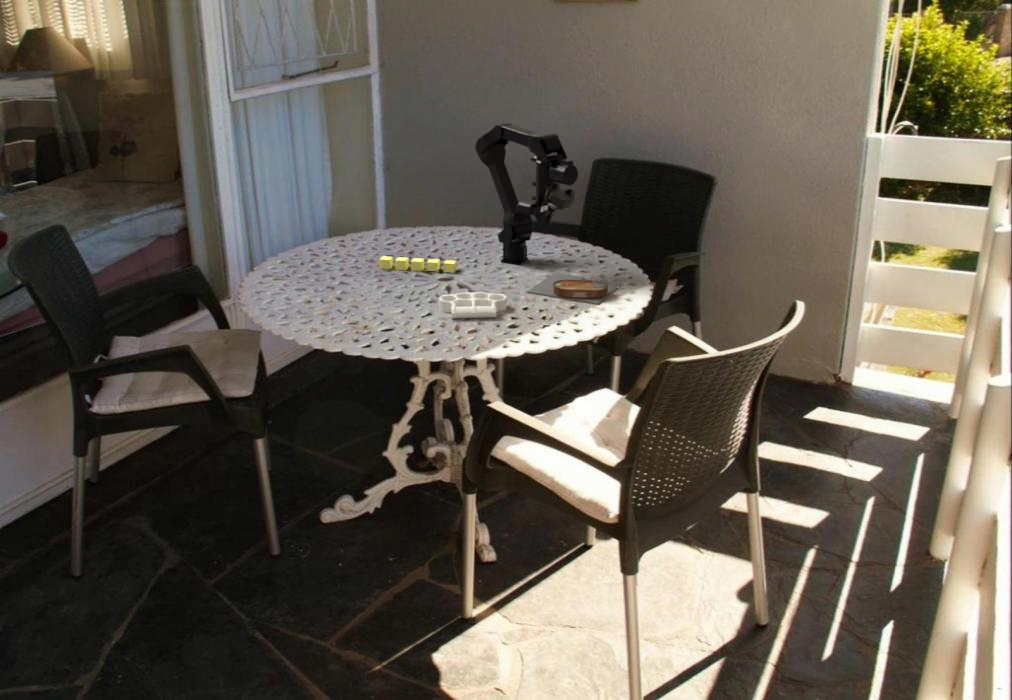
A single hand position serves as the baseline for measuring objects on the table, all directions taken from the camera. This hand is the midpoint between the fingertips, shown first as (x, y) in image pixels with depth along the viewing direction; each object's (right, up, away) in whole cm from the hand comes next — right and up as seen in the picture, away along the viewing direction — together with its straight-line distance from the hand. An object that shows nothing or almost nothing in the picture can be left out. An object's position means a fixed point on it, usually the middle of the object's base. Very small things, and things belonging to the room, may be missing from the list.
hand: (544, 231), depth 293 cm
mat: (+8, -17, -10) cm, 21 cm away
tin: (+10, -16, -11) cm, 22 cm away
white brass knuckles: (-20, -24, -26) cm, 41 cm away
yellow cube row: (-38, -10, +8) cm, 40 cm away
